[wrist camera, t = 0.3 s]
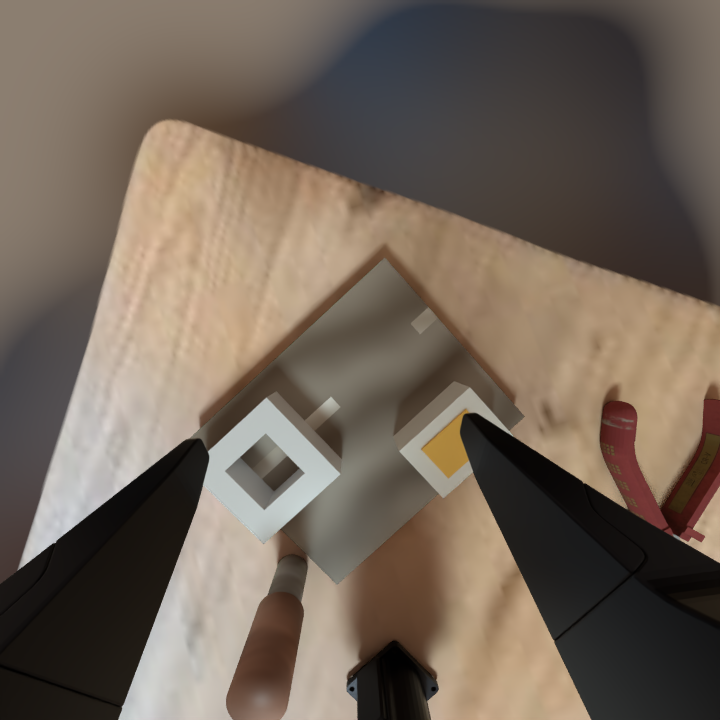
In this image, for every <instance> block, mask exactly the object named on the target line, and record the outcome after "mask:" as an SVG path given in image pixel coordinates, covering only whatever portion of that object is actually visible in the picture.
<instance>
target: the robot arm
mask: <svg viewBox="0 0 720 720" xmlns="http://www.w3.org/2000/svg"><path fill="white" fill-rule="evenodd" d="M460 436H461V439H462V442H463V445H464V448H465V451H466V453H467V456H468V459H469V462H470V465H471V467H472V470H473V473H474V475H475V478H476V480H477V482H478V484H479V487H480V489H481V491H482V493H483V495H484V497H485V499H486V501H487V503H488V505H489V507H490V509H491V511H492V514H493V516H494V518H495V520H496V522H497V524H498V526H499V528H500V530H501V532H502V534H503V536H504V539H505V541H506V543H507V545H508V547H509V549H510V551H511V553H512V555H513V557H514V559H515V561H516V563H517V566H518V568H519V570H520V572H521V574H522V576H523V578H524V580H525V582H526V584H527V586H528V588H529V591H530V593H531V595H532V597H533V599H534V601H535V603H536V605H537V607H538V609H539V611H540V613H541V616H542V618H543V620H544V622H545V624H546V626H547V628H548V630H549V632H550V634H551V636H552V638H553V640H554V643H555V645H556V647H557V649H558V651H559V653H560V655H561V658H562V660H563V662H564V664H565V666H566V668H567V670H568V672H569V674H570V676H571V678H572V680H573V683H574V685H575V687H576V689H577V691H578V693H579V695H580V697H581V699H582V701H583V703H584V705H585V707H586V710H587V712H588V714H589V716H590V718H591V720H720V563H719V562H717V561H715V560H713V559H711V558H710V557H708V556H706V555H704V554H703V553H701V552H699V551H698V550H696V549H694V548H692V547H691V546H689V545H687V544H685V543H684V542H682V541H680V540H678V539H677V538H675V537H673V536H671V535H670V534H668V533H666V532H664V531H663V530H661V529H659V528H658V527H656V526H654V525H652V524H651V523H649V522H647V521H645V520H644V519H642V518H640V517H639V516H637V515H635V514H634V513H632V512H630V511H629V510H627V509H625V508H624V507H622V506H620V505H619V504H617V503H616V502H614V501H612V500H611V499H609V498H608V497H606V496H604V495H603V494H601V493H600V492H598V491H597V490H595V489H593V488H592V487H590V486H589V485H587V484H586V483H584V484H583V482H582V481H581V480H579V479H578V478H576V477H575V476H573V475H572V474H570V473H569V472H567V471H566V470H564V469H562V468H561V467H559V466H558V465H556V464H555V463H553V462H552V461H550V460H549V459H547V458H545V457H544V456H542V455H541V454H539V453H538V452H536V451H535V450H533V449H532V448H530V447H529V446H527V445H525V444H524V443H522V442H521V441H519V440H518V439H516V438H515V437H513V436H512V435H510V434H508V433H507V432H505V431H504V430H502V429H501V428H499V427H498V426H496V425H495V424H493V423H492V422H490V421H488V420H487V419H485V418H484V417H482V416H481V415H479V414H478V413H465V414H464V415H463V418H462V422H461V427H460ZM208 464H209V453H208V451H207V449H206V447H205V445H204V443H203V441H202V439H200V438H192V439H186V440H185V441H183V442H182V443H181V444H179V445H178V446H177V447H175V448H174V449H173V450H172V451H170V452H169V453H168V454H167V455H165V456H164V457H163V458H161V459H160V460H159V461H158V462H156V463H155V464H154V465H153V466H151V467H150V468H149V469H147V470H146V471H145V472H144V473H142V474H141V475H140V476H138V477H137V478H136V479H135V480H133V481H132V482H131V483H130V484H128V485H127V486H126V487H124V488H123V489H122V490H121V491H119V492H118V493H117V494H116V495H114V496H113V497H112V498H110V499H109V500H108V501H107V502H105V503H104V504H103V505H101V506H100V507H99V508H98V509H96V510H95V511H94V512H93V513H91V514H90V515H89V516H87V517H86V518H85V519H84V520H82V521H81V522H80V523H78V524H77V525H76V526H75V527H73V528H72V529H71V530H70V531H68V532H67V533H66V534H64V535H63V536H62V537H61V538H59V539H58V540H57V541H56V543H53V544H52V545H50V546H49V547H48V548H46V549H45V550H44V551H43V552H41V553H40V554H39V555H38V556H36V557H35V558H34V559H32V560H31V561H30V562H28V563H27V564H26V565H25V566H23V567H22V568H21V569H19V570H18V571H17V572H16V573H14V574H13V575H11V576H10V577H9V578H8V579H6V580H5V581H4V582H3V583H1V584H0V720H118V719H119V716H120V713H121V711H122V706H123V704H124V702H125V699H126V697H127V694H128V691H129V688H130V686H131V683H132V680H133V678H134V675H135V672H136V670H137V667H138V664H139V662H140V659H141V656H142V654H143V651H144V648H145V646H146V643H147V640H148V638H149V635H150V632H151V630H152V627H153V624H154V622H155V619H156V616H157V613H158V611H159V608H160V605H161V603H162V600H163V597H164V595H165V592H166V589H167V587H168V584H169V581H170V579H171V576H172V573H173V571H174V568H175V565H176V563H177V560H178V557H179V555H180V552H181V549H182V546H183V544H184V541H185V538H186V536H187V533H188V530H189V528H190V525H191V522H192V520H193V517H194V514H195V511H196V509H197V505H198V502H199V498H200V495H201V491H202V487H203V483H204V479H205V475H206V472H207V468H208ZM438 690H439V688H438V684H437V681H436V680H435V679H434V678H433V677H432V676H431V675H430V674H429V673H428V672H427V671H426V670H425V669H424V668H423V667H422V666H421V665H420V664H419V663H418V662H417V661H416V660H415V659H414V658H413V657H412V656H411V655H410V654H409V653H408V652H407V651H406V650H405V649H404V648H403V647H402V646H401V645H400V644H399V643H398V642H396V641H394V642H391V643H390V644H389V645H388V646H387V647H385V648H384V649H383V650H382V651H381V652H380V653H379V654H377V655H376V656H375V657H374V658H373V659H372V660H371V661H370V662H368V663H367V664H366V665H365V666H364V667H363V668H362V669H360V670H359V671H358V672H357V673H356V674H355V675H354V676H353V677H351V678H350V679H349V680H348V681H347V692H348V693H349V694H350V695H351V696H352V697H353V698H354V699H355V700H356V701H357V718H358V720H431V717H430V712H429V708H428V703H427V701H428V700H429V699H430V698H431V697H432V696H433V695H435V694H436V693H437V692H438Z"/></svg>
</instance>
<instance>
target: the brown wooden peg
mask: <svg viewBox="0 0 720 720" xmlns="http://www.w3.org/2000/svg"><path fill="white" fill-rule="evenodd" d="M306 575H307V564H306V562H305V560H304V559H303V558H301V557H300V556H297V555H288V556H285V557H284V558H282V559H281V560H280V562H279V563H278V566H277V569H276V572H275V575H274V578H273V581H272V584H271V587H270V590H269V593H268V596H266V597H265V598H264V599H263V600H262V601H261V603H260V604H259V607H258V609H257V612H256V615H255V618H254V621H253V623H252V626H251V629H250V632H249V635H248V637H247V640H246V643H245V646H244V649H243V651H242V654H241V657H240V660H239V663H238V666H237V668H236V671H235V674H234V677H233V680H232V682H231V685H230V688H229V691H228V694H227V698H226V706H227V710H228V713H229V714H230V716H231V717H232V719H233V720H280V719H281V718H282V717H283V716H284V714H285V712H286V710H287V706H288V701H289V695H290V690H291V684H292V678H293V673H294V667H295V662H296V656H297V650H298V645H299V639H300V634H301V628H302V622H303V617H304V610H303V606H302V604H301V600H302V595H303V590H304V585H305V580H306Z"/></svg>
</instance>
